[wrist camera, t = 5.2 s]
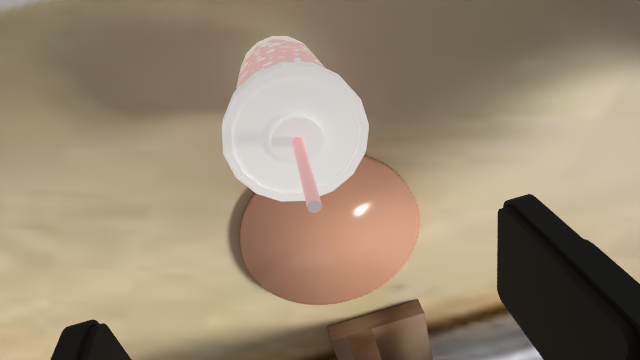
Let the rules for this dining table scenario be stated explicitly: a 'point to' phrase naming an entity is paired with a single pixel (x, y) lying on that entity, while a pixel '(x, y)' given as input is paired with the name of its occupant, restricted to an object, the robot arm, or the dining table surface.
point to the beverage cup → (292, 124)
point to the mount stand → (383, 335)
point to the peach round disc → (332, 238)
